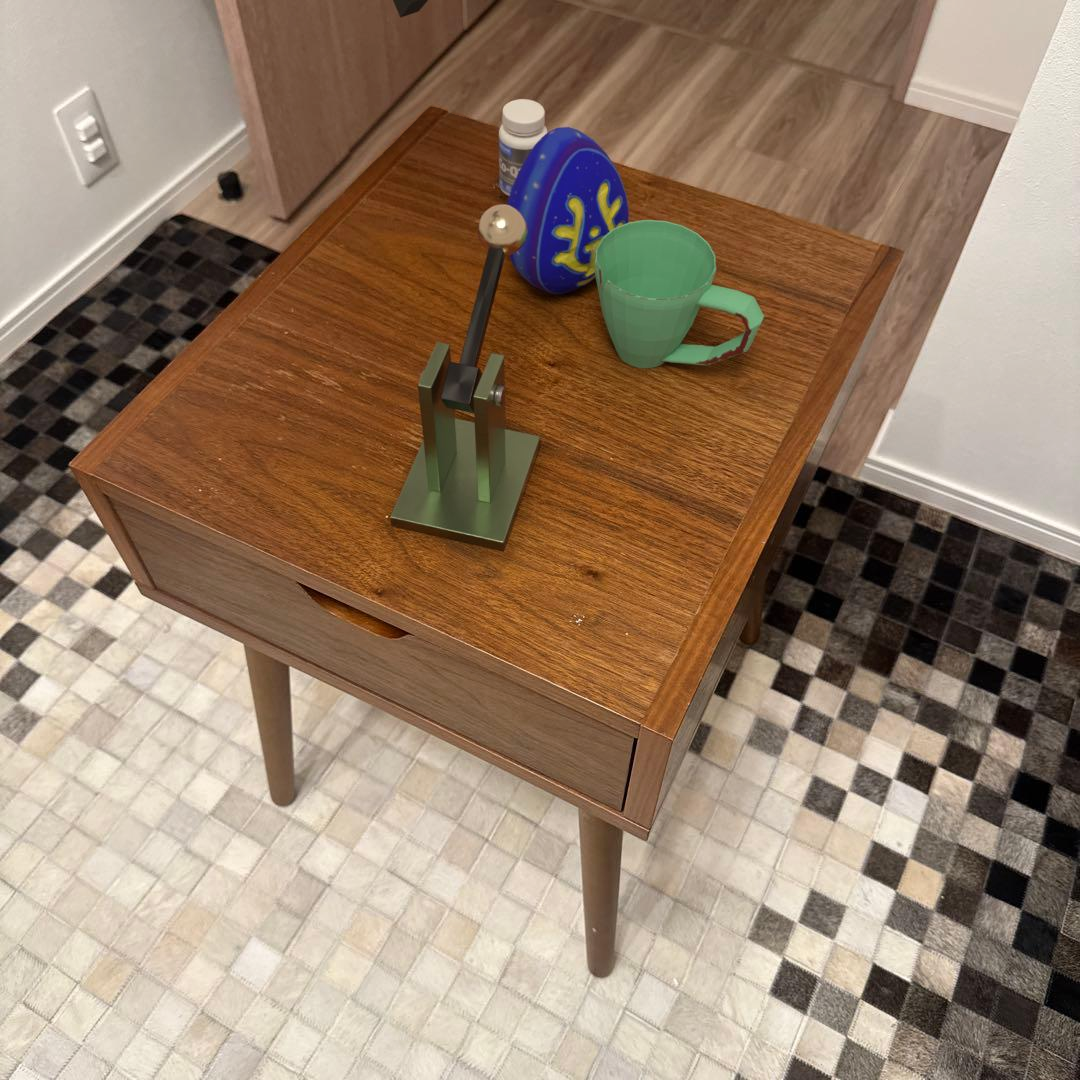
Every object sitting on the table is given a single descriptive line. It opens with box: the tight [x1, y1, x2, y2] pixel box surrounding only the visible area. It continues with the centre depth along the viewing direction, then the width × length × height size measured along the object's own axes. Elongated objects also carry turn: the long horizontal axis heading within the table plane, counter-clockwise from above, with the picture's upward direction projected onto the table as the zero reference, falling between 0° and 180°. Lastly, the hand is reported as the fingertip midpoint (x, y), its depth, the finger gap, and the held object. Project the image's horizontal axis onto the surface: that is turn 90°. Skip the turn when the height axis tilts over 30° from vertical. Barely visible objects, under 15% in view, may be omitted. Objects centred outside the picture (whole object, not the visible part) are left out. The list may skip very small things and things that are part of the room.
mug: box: [595, 219, 765, 369], centre depth 90 cm, size 15×10×10 cm
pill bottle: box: [498, 98, 549, 197], centre depth 104 cm, size 5×5×8 cm
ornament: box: [506, 126, 630, 295], centre depth 94 cm, size 11×9×15 cm
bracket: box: [389, 341, 541, 552], centre depth 80 cm, size 11×9×13 cm
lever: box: [440, 203, 527, 414], centre depth 77 cm, size 15×4×4 cm, turn 165°
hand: (415, 6), depth 73 cm, fingers closed
